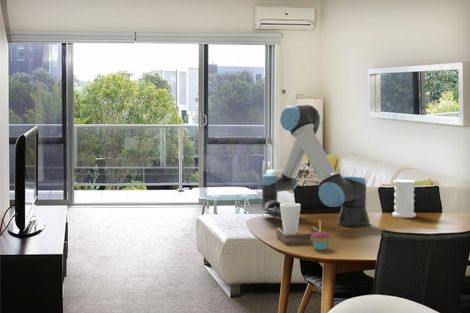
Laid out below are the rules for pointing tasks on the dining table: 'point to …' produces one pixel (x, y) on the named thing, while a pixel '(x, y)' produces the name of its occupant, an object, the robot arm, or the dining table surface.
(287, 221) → the foam cup
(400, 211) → the decorative container
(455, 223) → the dining table surface
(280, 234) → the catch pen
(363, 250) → the dining table surface
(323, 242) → the cupcake
